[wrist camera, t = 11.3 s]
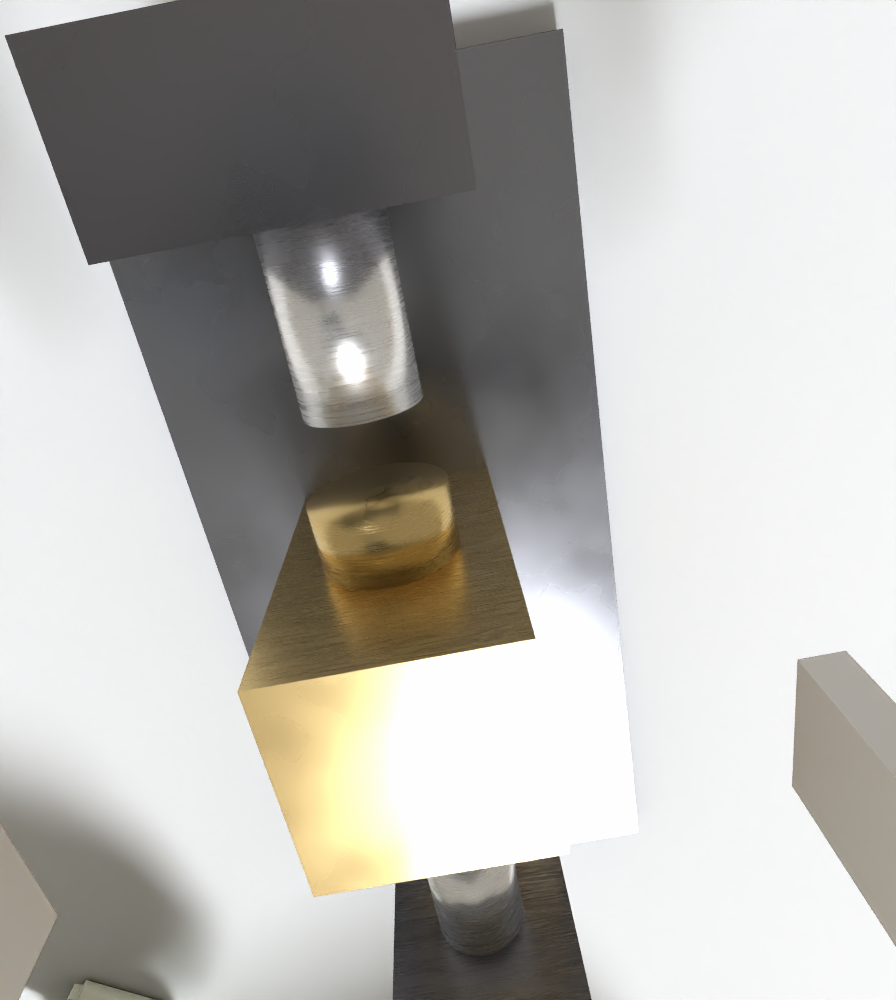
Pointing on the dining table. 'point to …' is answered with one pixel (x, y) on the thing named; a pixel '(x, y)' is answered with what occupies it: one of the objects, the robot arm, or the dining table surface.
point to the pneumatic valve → (101, 993)
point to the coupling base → (471, 312)
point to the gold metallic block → (403, 685)
